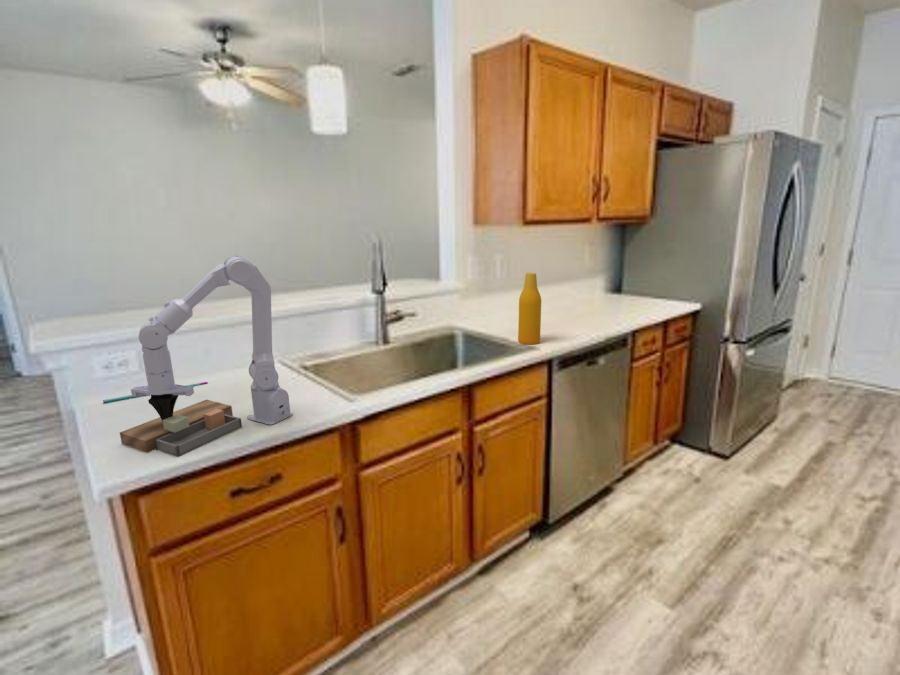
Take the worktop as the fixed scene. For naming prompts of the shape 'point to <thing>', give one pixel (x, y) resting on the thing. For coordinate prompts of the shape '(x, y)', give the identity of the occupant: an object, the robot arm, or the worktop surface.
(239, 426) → the tray
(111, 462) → the worktop surface
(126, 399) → the squeegee
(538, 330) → the beer bottle
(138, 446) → the board
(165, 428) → the tile sage
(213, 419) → the tile terracotta
